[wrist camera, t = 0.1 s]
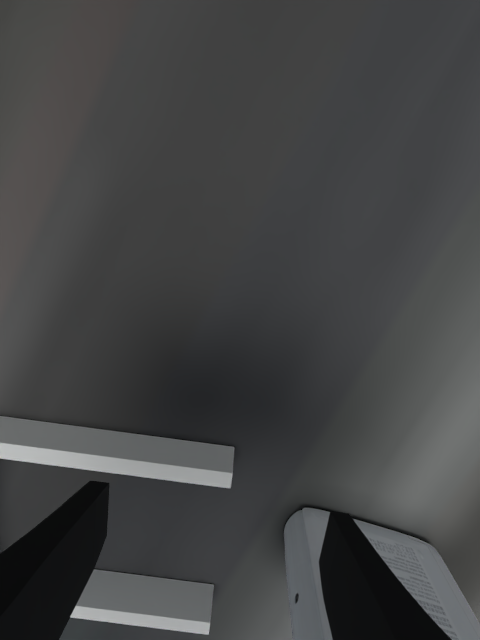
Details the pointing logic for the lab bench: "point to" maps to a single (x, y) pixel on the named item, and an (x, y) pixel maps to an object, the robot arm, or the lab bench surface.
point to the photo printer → (400, 556)
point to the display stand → (136, 460)
